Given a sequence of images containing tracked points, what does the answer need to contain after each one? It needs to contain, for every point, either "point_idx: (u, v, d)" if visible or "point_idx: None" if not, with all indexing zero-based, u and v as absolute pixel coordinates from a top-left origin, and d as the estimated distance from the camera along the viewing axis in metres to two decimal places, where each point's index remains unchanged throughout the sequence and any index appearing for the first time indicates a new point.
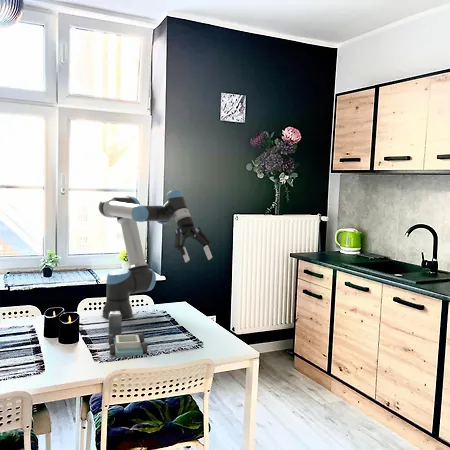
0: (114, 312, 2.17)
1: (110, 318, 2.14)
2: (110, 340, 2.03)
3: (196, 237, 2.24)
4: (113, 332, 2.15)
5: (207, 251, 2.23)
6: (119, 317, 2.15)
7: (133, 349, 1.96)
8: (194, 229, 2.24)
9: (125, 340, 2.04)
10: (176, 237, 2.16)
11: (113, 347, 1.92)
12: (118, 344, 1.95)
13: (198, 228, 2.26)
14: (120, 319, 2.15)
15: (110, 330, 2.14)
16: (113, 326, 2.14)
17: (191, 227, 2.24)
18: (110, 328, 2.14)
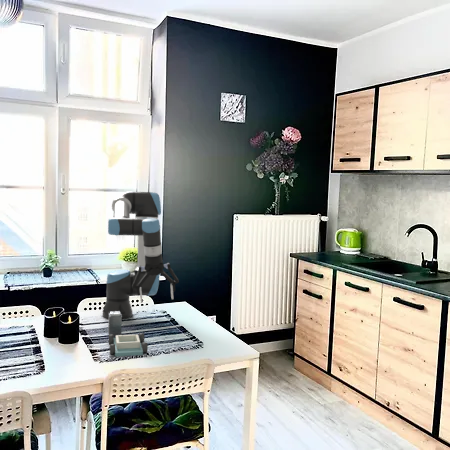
0: (114, 312, 2.17)
1: (110, 318, 2.14)
2: (110, 340, 2.03)
3: None
4: (113, 332, 2.15)
5: (171, 291, 2.10)
6: (119, 317, 2.15)
7: (133, 349, 1.96)
8: (161, 267, 2.06)
9: (125, 340, 2.04)
10: (136, 275, 2.06)
11: (113, 347, 1.92)
12: (118, 344, 1.95)
13: (167, 266, 2.07)
14: (120, 319, 2.15)
15: (110, 330, 2.14)
16: (113, 326, 2.14)
17: (158, 265, 2.06)
18: (110, 328, 2.14)
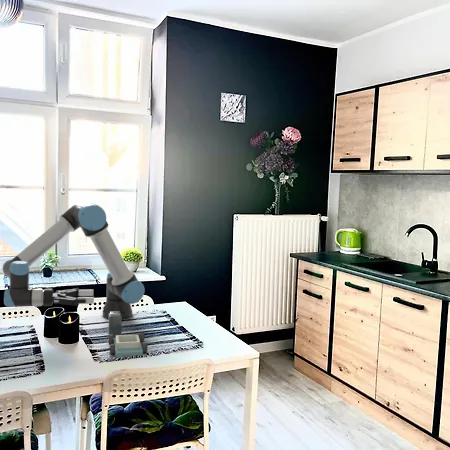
0: (114, 312, 2.17)
1: (110, 318, 2.14)
2: (110, 340, 2.03)
3: None
4: (113, 332, 2.15)
5: None
6: (119, 317, 2.15)
7: (133, 349, 1.96)
8: None
9: (125, 340, 2.04)
10: None
11: (113, 347, 1.92)
12: (118, 344, 1.95)
13: None
14: (120, 319, 2.15)
15: (110, 330, 2.14)
16: (113, 326, 2.14)
17: None
18: (110, 328, 2.14)
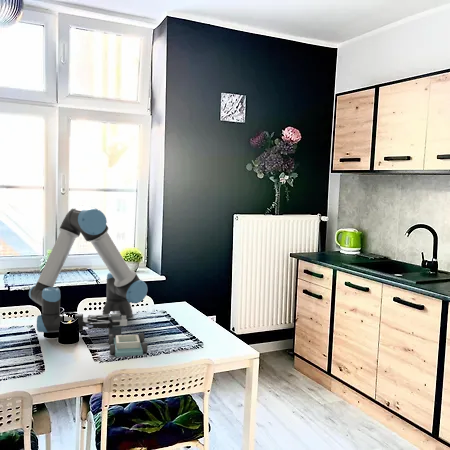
0: (114, 312, 2.17)
1: (110, 318, 2.14)
2: (110, 340, 2.03)
3: None
4: (113, 332, 2.15)
5: None
6: (119, 317, 2.15)
7: (133, 349, 1.96)
8: (87, 326, 2.11)
9: (125, 340, 2.04)
10: None
11: (113, 347, 1.92)
12: (118, 344, 1.95)
13: None
14: (120, 319, 2.15)
15: (110, 330, 2.14)
16: None
17: None
18: (110, 328, 2.14)
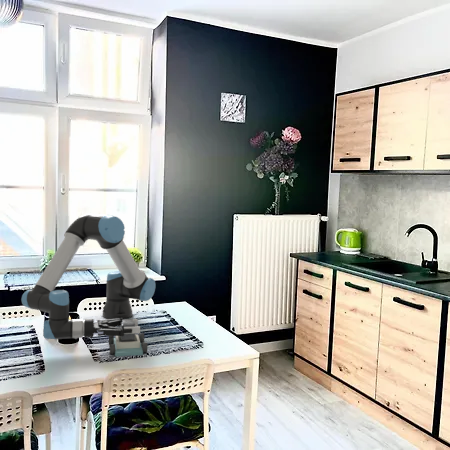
0: (127, 321, 2.00)
1: (123, 327, 1.97)
2: (110, 340, 2.03)
3: None
4: None
5: None
6: (132, 326, 1.98)
7: (133, 349, 1.96)
8: None
9: None
10: None
11: (113, 347, 1.92)
12: (118, 344, 1.95)
13: None
14: None
15: (123, 340, 1.98)
16: (126, 335, 1.98)
17: None
18: (123, 338, 1.98)
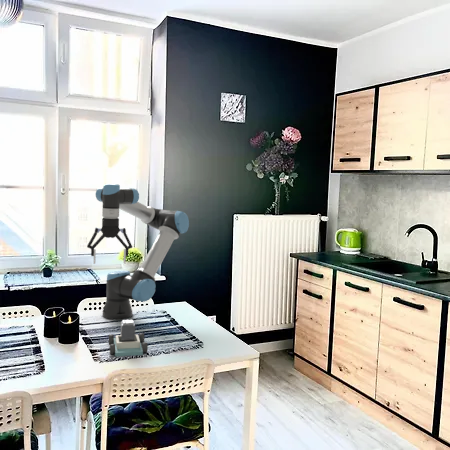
0: (127, 321, 2.00)
1: (123, 327, 1.97)
2: (110, 340, 2.03)
3: (117, 238, 2.20)
4: None
5: None
6: (132, 326, 1.98)
7: (133, 349, 1.96)
8: (117, 230, 2.18)
9: None
10: (92, 236, 2.17)
11: (113, 347, 1.92)
12: (118, 344, 1.95)
13: (123, 230, 2.19)
14: (133, 328, 1.98)
15: (123, 340, 1.98)
16: (126, 335, 1.98)
17: (114, 228, 2.18)
18: (123, 338, 1.98)
